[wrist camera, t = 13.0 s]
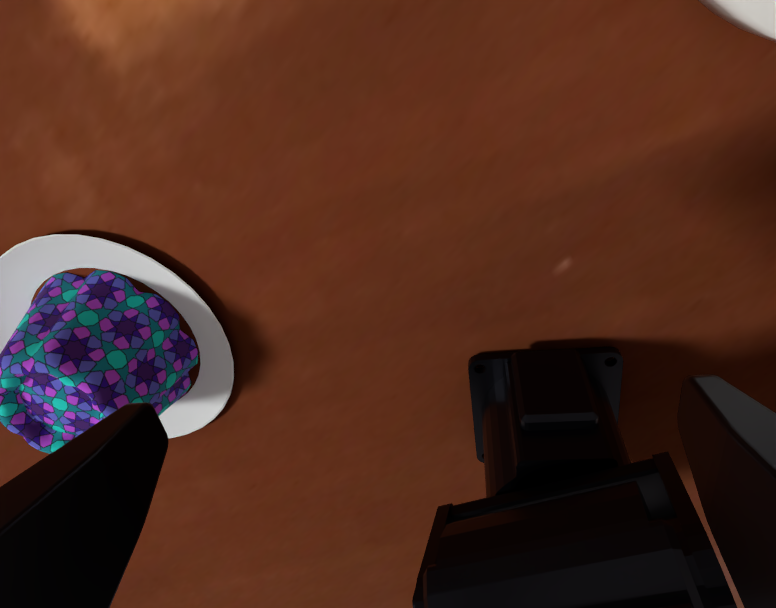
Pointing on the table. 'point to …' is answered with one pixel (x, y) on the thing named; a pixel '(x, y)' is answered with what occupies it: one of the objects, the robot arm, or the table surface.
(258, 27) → the table surface
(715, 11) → the plinth
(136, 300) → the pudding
